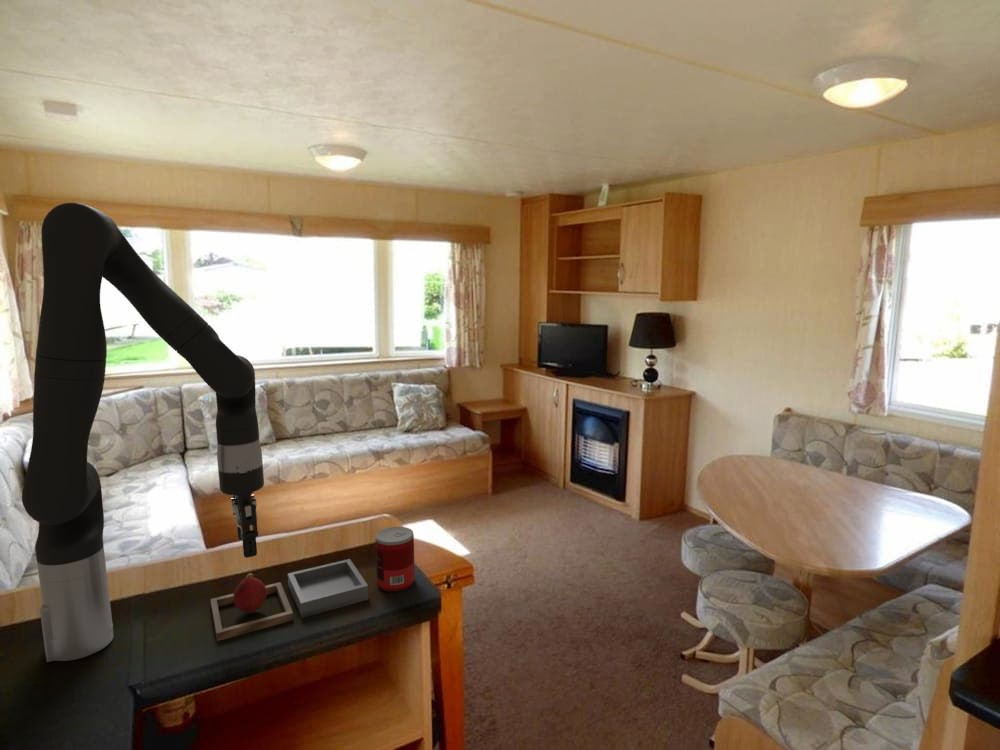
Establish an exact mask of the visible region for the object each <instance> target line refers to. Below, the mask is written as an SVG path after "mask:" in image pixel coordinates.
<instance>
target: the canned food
mask: <svg viewBox="0 0 1000 750" xmlns="http://www.w3.org/2000/svg"><path fill="white" fill-rule="evenodd" d="M414 537H415V536H414V531H413V530H412V529H411V528H408V527H406V526H391V527H386V528H383V529H381V530H379V531H378V532H376V533H375V537H374V538H375V539H374V540H375V569H376V573H375V574H376V584H377V586H378V588H379V589H380V590H381V591H385V592H389V591H396V592H399V591H398V590H401V591H404V590H406V589H408V588H410V587H411V586H412V585H413V583H414V580H415V539H414ZM403 589H404V590H403Z"/></svg>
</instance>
